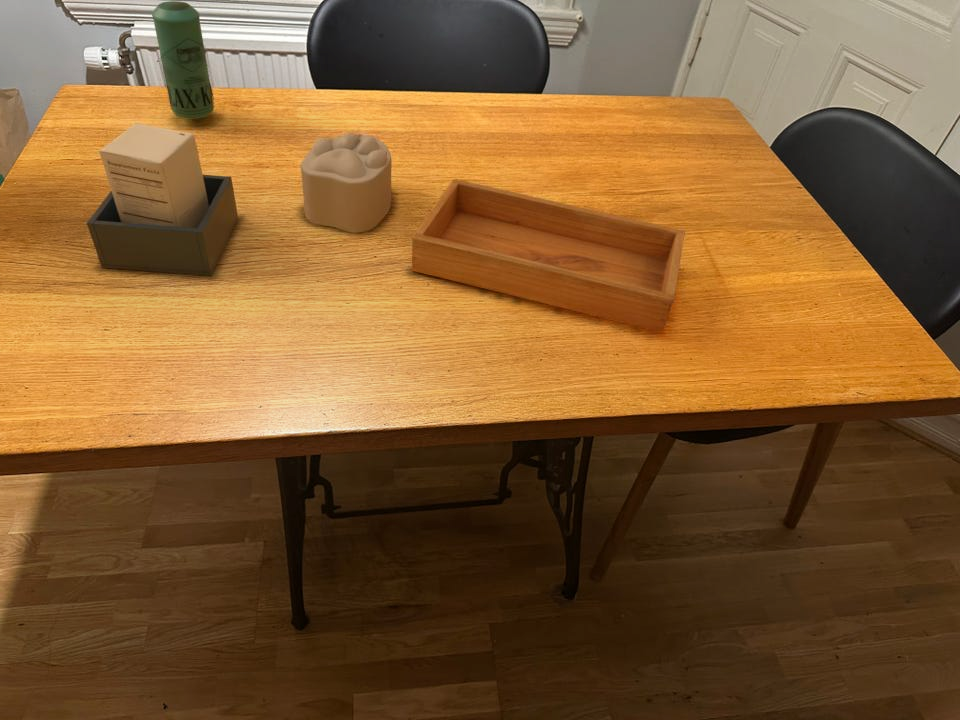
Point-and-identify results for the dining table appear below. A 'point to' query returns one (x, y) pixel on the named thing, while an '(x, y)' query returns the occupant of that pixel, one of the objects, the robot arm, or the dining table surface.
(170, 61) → the beverage bottle
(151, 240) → the dark grey storage bin
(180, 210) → the white packaging box
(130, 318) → the dining table surface
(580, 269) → the tray
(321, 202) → the lumpy-topped squat cylinder
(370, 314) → the dining table surface
